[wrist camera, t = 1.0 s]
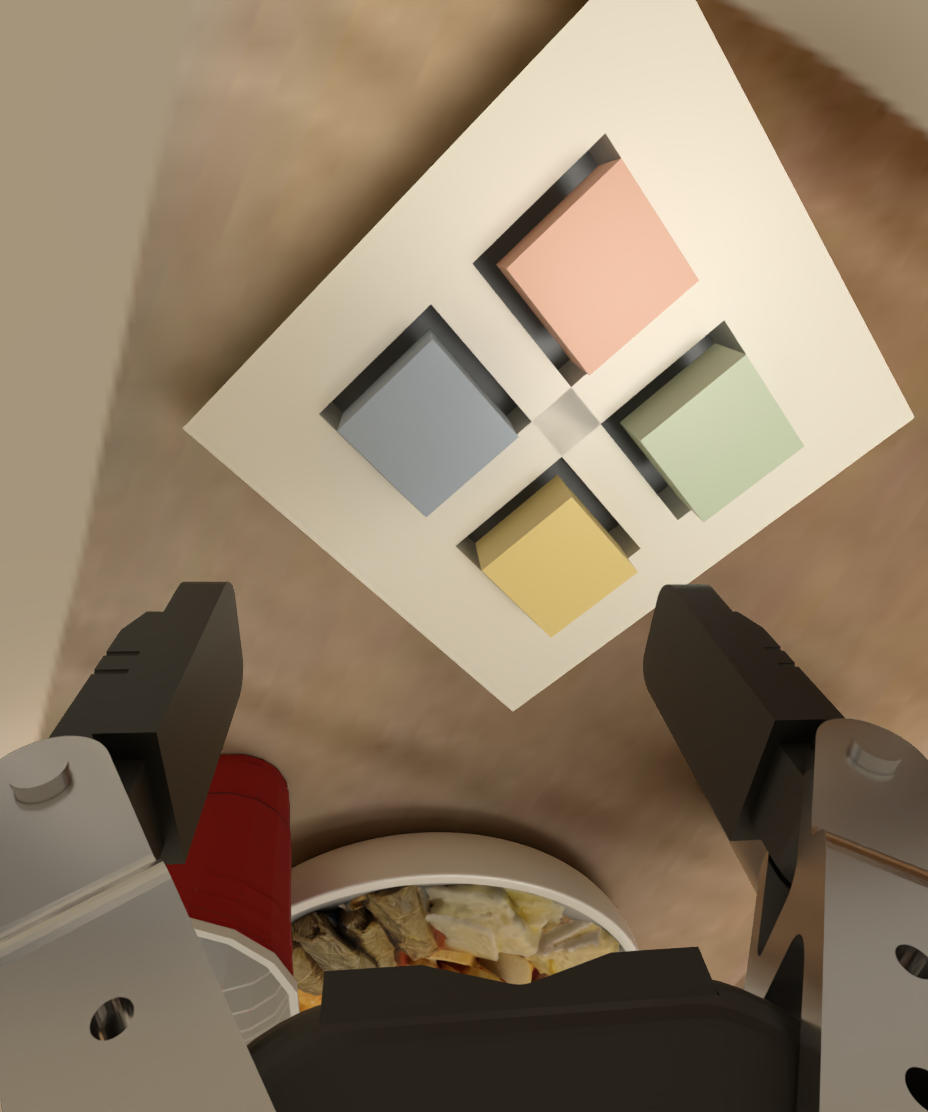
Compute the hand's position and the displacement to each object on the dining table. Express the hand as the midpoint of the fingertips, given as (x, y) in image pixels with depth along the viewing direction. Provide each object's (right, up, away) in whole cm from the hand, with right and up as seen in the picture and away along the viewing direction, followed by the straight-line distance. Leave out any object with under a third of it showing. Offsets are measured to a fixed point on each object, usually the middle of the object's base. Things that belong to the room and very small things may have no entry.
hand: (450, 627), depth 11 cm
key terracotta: (+4, +11, +11) cm, 16 cm away
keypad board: (+4, +8, +17) cm, 19 cm away
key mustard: (+4, +2, +16) cm, 16 cm away
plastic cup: (-13, -12, +26) cm, 31 cm away
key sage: (+9, +6, +14) cm, 18 cm away
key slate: (-1, +7, +13) cm, 14 cm away
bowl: (-3, -27, +35) cm, 44 cm away
